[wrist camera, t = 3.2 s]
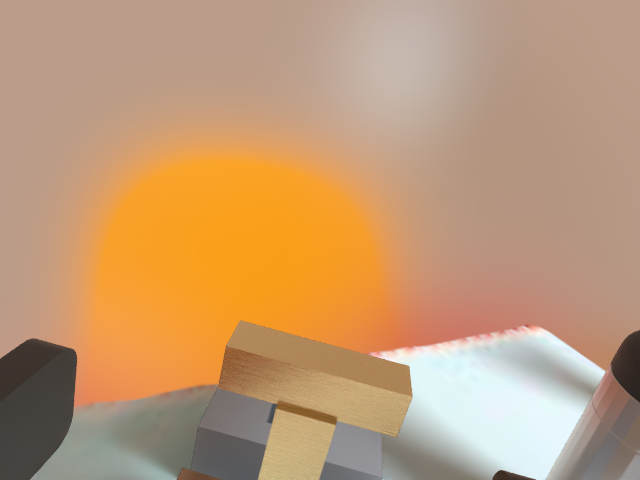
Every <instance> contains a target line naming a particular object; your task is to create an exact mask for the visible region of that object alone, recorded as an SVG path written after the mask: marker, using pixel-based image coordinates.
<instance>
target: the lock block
mask: <svg viewBox="0 0 640 480" xmlns="http://www.w3.org/2000/svg"><path fill="white" fill-rule="evenodd" d="M177 480H223V479H220V478H216V477H213V476H209V475H206V474H202V473H198V472H195V471H191V470H188V469H184V468H182V470H181V472H180V474H179V476H178V478H177Z"/></svg>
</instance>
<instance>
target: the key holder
mask: <svg viewBox="0 0 640 480" xmlns="http://www.w3.org/2000/svg"><path fill="white" fill-rule="evenodd" d="M276 407H277V404H274V403H270V402H267V401H263V400H259V399H256V398H252V397H248V396H245V395H241V394H238V393H234V392H230V391H227V390H223V389H219V388H217V390H216V392H215V394H214V396H213V398H212V400H211V402H210V404H209V406H208V408H207V410H206V412H205V414H204V416H203V418H202V420H201V422H200V424H199V426H198V431H197V436H196V442H195V448H194V453H193V459H192V464H191V471H195V472H198V473H202V474H206V475H209V476H213V477H216V478H220V479H223V480H258V477H259V473H260V470H261V466H262V462H263V458H264V454H265V450H266V446H267V442H268V438H269V434H270V430H271V426H272V422H273V418H274V414H275V410H276ZM381 479H382V433H379V432H375V431H372V430H368V429H365V428H361V427H357V426H354V425H350V424H346V423H343V422H339V421H337V424H336V428H335V431H334V434H333V437H332V440H331V444H330V447H329V450H328V453H327V456H326V459H325V462H324V465H323V469H322V472H321V475H320V478H319V480H381Z"/></svg>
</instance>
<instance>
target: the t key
mask: <svg viewBox="0 0 640 480" xmlns="http://www.w3.org/2000/svg"><path fill="white" fill-rule="evenodd" d="M218 388H219V389H223V390H227V391H230V392H234V393H238V394H241V395H245V396H248V397H252V398H256V399H259V400H263V401H267V402H270V403H274V404H277V407H276V410H275V414H274V418H273V422H272V426H271V430H270V434H269V438H268V442H267V446H266V450H265V454H264V458H263V462H262V466H261V470H260V473H259V477H258V480H319V478H320V475H321V472H322V469H323V465H324V462H325V459H326V456H327V453H328V450H329V447H330V444H331V440H332V437H333V434H334V431H335V428H336V424H337V421H339V422H343V423H346V424H350V425H354V426H357V427H361V428H365V429H368V430H372V431H375V432H379V433H383V434H386V435H390V436H394V437H397V436H398V433H399V431H400V428H401V425H402V423H403V420H404V418H405V415H406V412H407V410H408V407H409V405H410V402H411V399H412V388H411V378H410V369H409V366H407V365H403V364H399V363H396V362H392V361H388V360H385V359H381V358H377V357H373V356H370V355H366V354H362V353H359V352H355V351H351V350H348V349H344V348H340V347H337V346H333V345H329V344H326V343H322V342H318V341H315V340H311V339H307V338H303V337H300V336H296V335H292V334H289V333H285V332H281V331H277V330H274V329H270V328H266V327H263V326H259V325H256V324H252V323H248V322H244V321H240V322H239V323H238V325H237V327H236V329H235V331H234V333H233V334H232V336H231V338H230V340H229V342H228V343H227V345H226V349H225V354H224V360H223V365H222V370H221V375H220V380H219V386H218Z"/></svg>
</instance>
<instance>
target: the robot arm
mask: <svg viewBox="0 0 640 480" xmlns="http://www.w3.org/2000/svg"><path fill="white" fill-rule="evenodd" d="M76 366H77V355H76V352H75V351H74V350H73V349H71V348H67V347H64V346H60V345H56V344H53V343H49V342H46V341H42V340H38V339H29V340H27V341H26V342H24V343H22V344H21V345H19V346H18V347H16V348H15V349H14V350H12V351H11V352H9V353H8V354H7V355H5V356H4V357H2V358H1V359H0V480H30V479H31V478H32V477H33V476H34V474H35V473H36V472H37V471H38V470H39V469H40V468H41V467H42V466H43V465H44V463H45V462H46V461H47V460H48V459H49V458H50V457H51V456H52V455H53V454H54V452H55V451H56V450H57V449H58V448H59V446H60V445H61V443H62V442H63V440H64V438H65V436H66V434H67V432H68V430H69V427H70V425H71V421H72V417H73V407H74V393H75V379H76ZM492 480H535V479H532V478H528V477H525V476H521V475H517V474H514V473H510V472H507V471H503V470H500V471H498V472H497V473H496V474H495V475H494V477H493V479H492ZM546 480H640V330H639V331H636V332H634V333H632V334H631V335H629V336H628V337H627V338H626V339H625V340H624V341H623V343H622V344H621V346H620V347H619V349H618V351H617V353H616V354H615V356H614V358H613V360H612V362H611V364H610V366H609V367H608V369H607V371H606V373H605V375H604V376H603V378H602V380H601V382H600V383H599V385H598V387H597V389H596V391H595V392H594V394H593V396H592V398H591V400H590V402H589V403H588V405H587V407H586V409H585V410H584V412H583V414H582V416H581V418H580V419H579V421H578V423H577V425H576V426H575V428H574V430H573V432H572V433H571V435H570V437H569V439H568V441H567V442H566V444H565V446H564V448H563V449H562V451H561V453H560V455H559V457H558V458H557V460H556V462H555V464H554V465H553V467H552V469H551V471H550V472H549V474H548V476H547V478H546Z"/></svg>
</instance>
